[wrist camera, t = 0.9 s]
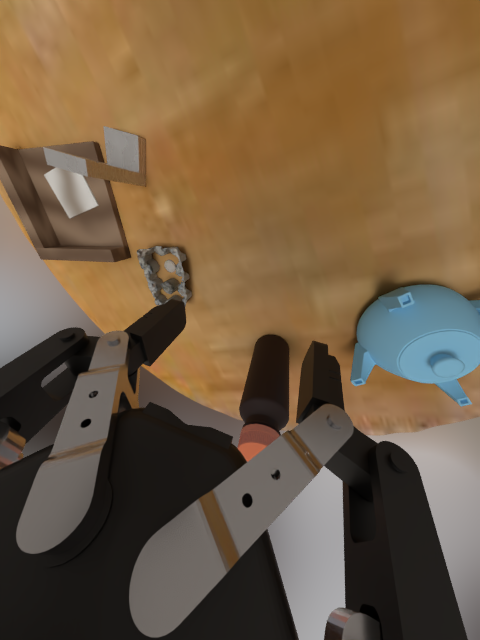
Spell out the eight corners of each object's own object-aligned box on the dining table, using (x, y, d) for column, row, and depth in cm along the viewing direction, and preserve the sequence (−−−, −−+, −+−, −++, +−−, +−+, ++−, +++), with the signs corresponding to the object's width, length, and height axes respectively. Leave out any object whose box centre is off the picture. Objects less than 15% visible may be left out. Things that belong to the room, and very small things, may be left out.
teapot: (427, 368, 34) (478, 427, 25) (337, 351, 36) (353, 399, 27) (491, 285, 26) (602, 326, 17) (372, 270, 28) (412, 298, 19)
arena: (16, 152, 31) (-18, 145, 28) (98, 143, 28) (72, 134, 25) (62, 255, 39) (40, 259, 36) (131, 257, 36) (114, 262, 32)
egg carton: (149, 243, 34) (133, 246, 31) (189, 246, 33) (177, 250, 29) (160, 299, 39) (147, 307, 36) (194, 303, 38) (184, 312, 35)
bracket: (112, 130, 27) (30, 92, 18) (145, 139, 26) (77, 105, 18) (116, 177, 30) (47, 164, 21) (146, 186, 29) (87, 176, 21)
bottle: (265, 365, 41) (248, 472, 24) (249, 341, 39) (218, 440, 22) (295, 355, 38) (299, 470, 21) (279, 329, 36) (270, 433, 19)
